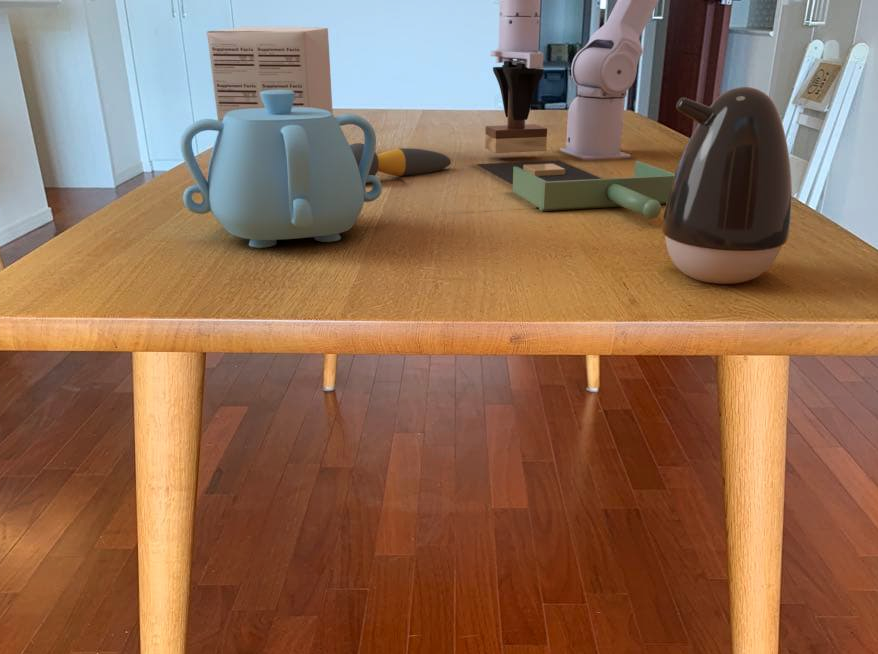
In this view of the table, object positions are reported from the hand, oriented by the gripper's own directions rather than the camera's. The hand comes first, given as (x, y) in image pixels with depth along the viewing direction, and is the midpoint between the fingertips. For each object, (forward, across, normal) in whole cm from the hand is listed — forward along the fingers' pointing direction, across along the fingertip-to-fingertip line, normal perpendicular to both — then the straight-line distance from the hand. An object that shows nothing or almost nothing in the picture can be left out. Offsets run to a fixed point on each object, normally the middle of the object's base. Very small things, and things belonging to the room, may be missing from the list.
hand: (516, 118), depth 119 cm
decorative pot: (+6, +36, -37) cm, 52 cm away
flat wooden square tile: (+6, +12, 0) cm, 13 cm away
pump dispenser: (+6, +60, -3) cm, 60 cm away
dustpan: (+6, +33, 0) cm, 34 cm away
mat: (+6, +12, -1) cm, 13 cm away
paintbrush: (+6, +9, -21) cm, 24 cm away
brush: (+4, 0, 0) cm, 4 cm away
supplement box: (+6, -7, -34) cm, 35 cm away
